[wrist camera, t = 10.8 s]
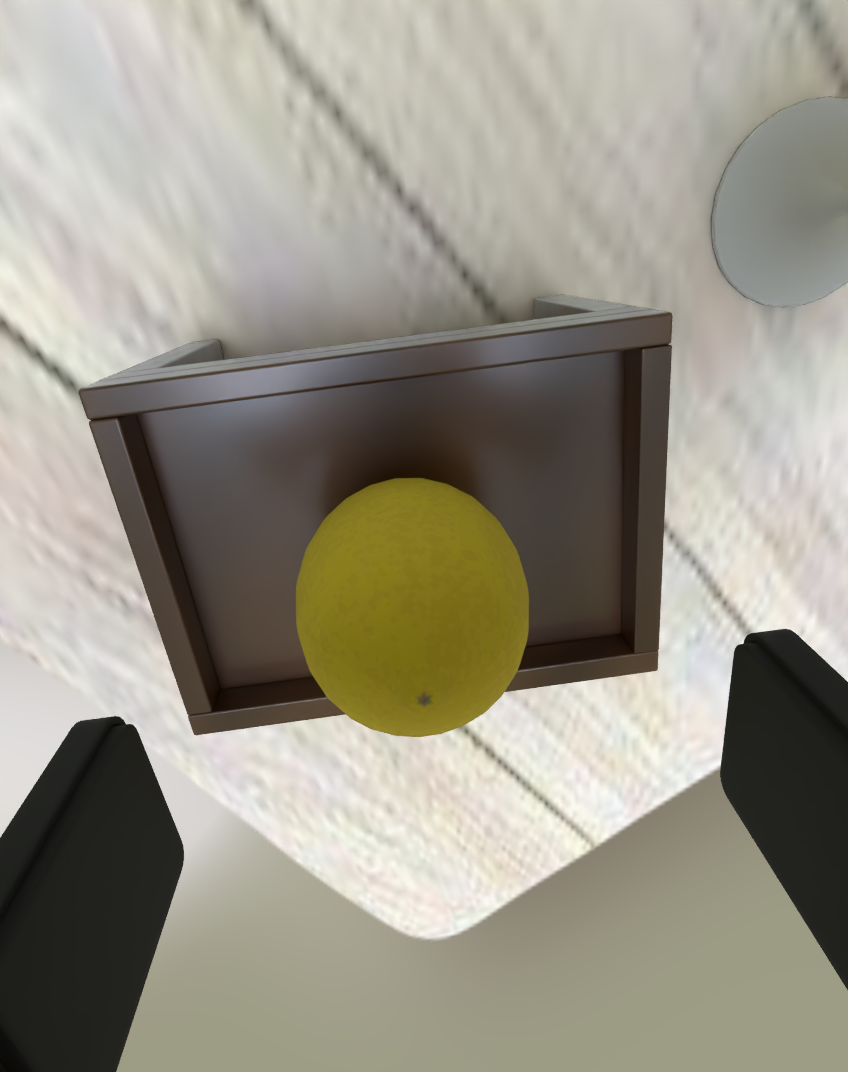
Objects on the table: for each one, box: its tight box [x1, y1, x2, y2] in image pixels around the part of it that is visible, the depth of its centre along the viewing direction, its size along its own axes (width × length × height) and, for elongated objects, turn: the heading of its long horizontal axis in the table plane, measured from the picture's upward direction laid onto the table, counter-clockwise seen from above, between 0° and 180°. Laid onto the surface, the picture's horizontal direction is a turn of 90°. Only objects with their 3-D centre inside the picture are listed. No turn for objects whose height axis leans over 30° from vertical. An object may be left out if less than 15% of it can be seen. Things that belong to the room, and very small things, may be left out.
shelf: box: [79, 295, 672, 735], centre depth 22 cm, size 15×11×10 cm
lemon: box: [296, 478, 529, 737], centre depth 15 cm, size 6×6×8 cm
